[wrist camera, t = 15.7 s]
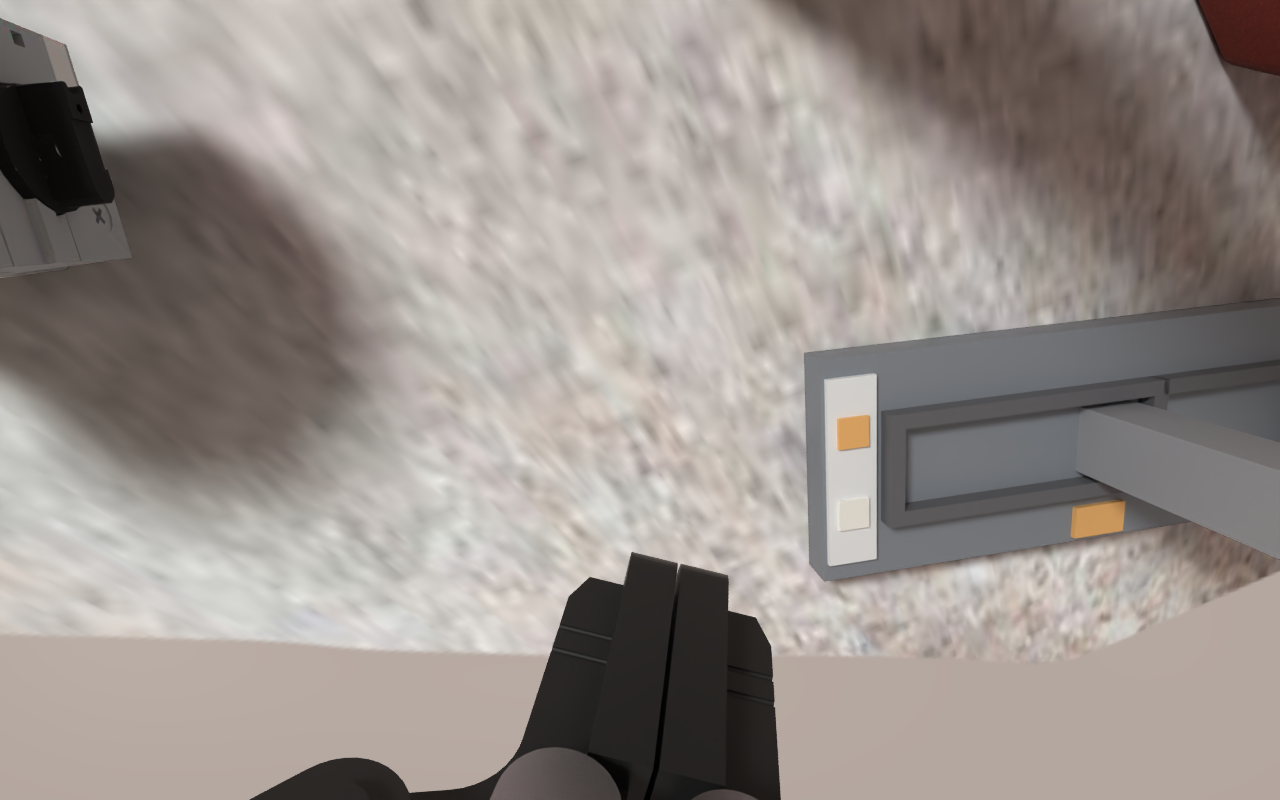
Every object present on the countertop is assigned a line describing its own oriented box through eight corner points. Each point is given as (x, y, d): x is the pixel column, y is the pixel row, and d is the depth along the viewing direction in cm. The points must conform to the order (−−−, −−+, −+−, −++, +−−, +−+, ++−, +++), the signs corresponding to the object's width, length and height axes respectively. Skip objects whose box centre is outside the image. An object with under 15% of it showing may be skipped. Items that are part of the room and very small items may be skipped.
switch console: (804, 353, 37) (828, 363, 34) (1331, 292, 41) (1392, 296, 38) (809, 564, 40) (832, 590, 37) (1300, 486, 44) (1354, 504, 41)
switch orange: (1076, 403, 38) (1474, 529, 22) (1133, 396, 38) (1562, 513, 23) (1071, 474, 39) (1449, 643, 23) (1127, 466, 39) (1534, 625, 24)
